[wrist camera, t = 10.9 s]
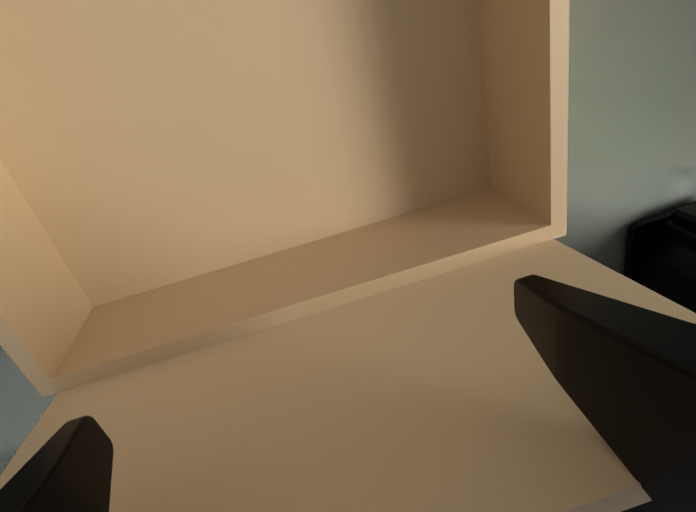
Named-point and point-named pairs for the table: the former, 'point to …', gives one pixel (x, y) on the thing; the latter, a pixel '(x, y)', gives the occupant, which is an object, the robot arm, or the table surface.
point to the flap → (367, 408)
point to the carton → (260, 163)
